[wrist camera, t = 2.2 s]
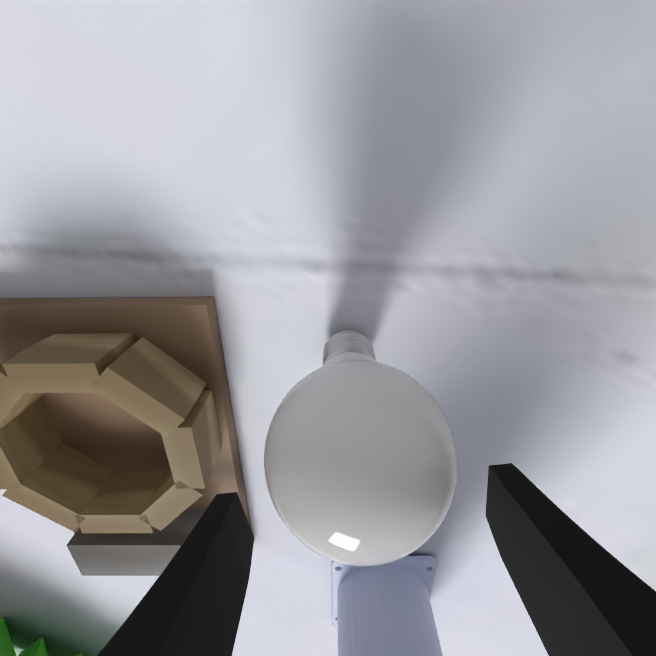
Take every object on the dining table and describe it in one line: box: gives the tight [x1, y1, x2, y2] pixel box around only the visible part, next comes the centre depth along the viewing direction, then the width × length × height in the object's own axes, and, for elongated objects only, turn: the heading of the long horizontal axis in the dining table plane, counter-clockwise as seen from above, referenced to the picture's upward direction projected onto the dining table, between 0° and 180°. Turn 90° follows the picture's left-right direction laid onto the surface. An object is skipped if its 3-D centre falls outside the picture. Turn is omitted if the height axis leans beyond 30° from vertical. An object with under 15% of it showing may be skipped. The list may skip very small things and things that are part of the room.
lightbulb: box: [264, 330, 458, 566], centre depth 14 cm, size 6×6×11 cm
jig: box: [0, 297, 251, 576], centre depth 20 cm, size 20×12×4 cm, turn 1°
